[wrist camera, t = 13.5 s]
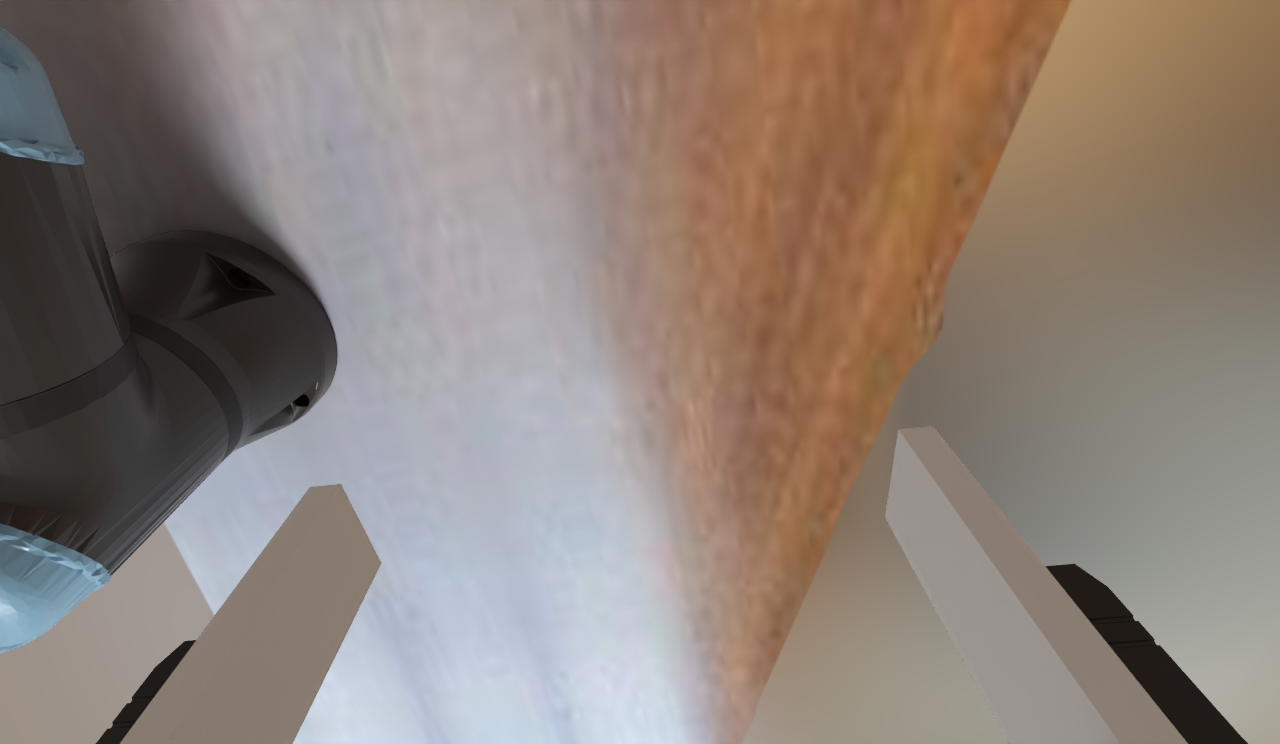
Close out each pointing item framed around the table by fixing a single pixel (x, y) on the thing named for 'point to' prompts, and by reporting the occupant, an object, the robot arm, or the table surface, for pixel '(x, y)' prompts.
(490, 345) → the table surface
